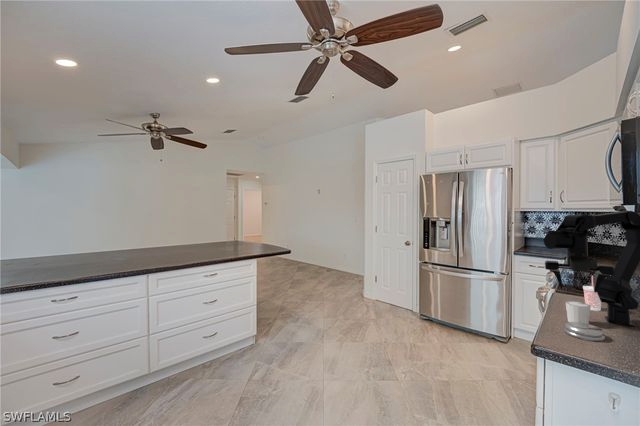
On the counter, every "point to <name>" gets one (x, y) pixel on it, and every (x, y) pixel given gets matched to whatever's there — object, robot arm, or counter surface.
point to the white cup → (578, 312)
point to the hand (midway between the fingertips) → (577, 290)
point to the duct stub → (584, 331)
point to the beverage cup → (592, 297)
